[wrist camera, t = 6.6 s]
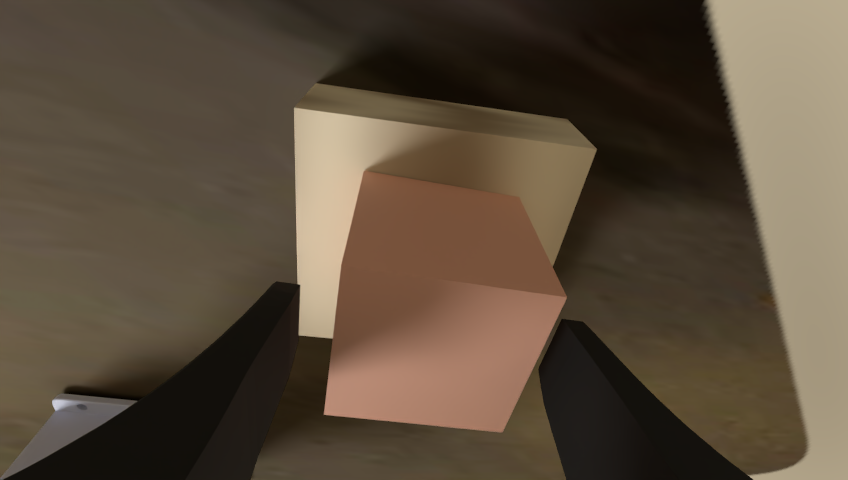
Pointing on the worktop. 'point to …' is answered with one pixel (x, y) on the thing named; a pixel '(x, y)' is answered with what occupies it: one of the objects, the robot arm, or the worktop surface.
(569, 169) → the birch base block
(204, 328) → the worktop surface
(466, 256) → the terracotta cube
